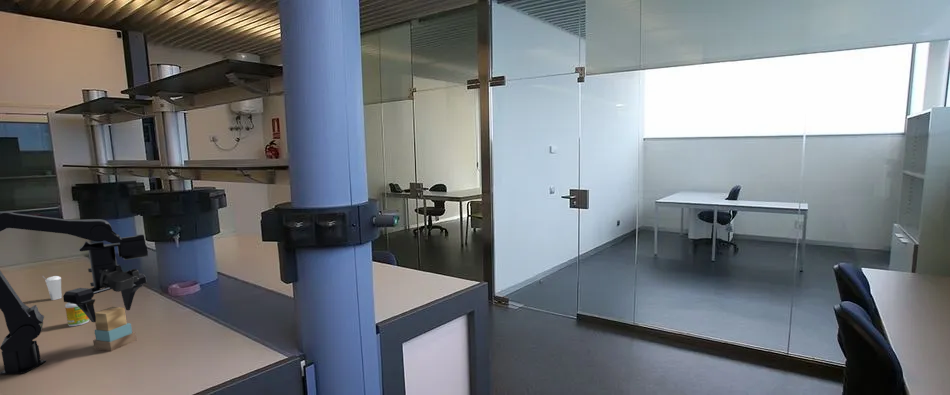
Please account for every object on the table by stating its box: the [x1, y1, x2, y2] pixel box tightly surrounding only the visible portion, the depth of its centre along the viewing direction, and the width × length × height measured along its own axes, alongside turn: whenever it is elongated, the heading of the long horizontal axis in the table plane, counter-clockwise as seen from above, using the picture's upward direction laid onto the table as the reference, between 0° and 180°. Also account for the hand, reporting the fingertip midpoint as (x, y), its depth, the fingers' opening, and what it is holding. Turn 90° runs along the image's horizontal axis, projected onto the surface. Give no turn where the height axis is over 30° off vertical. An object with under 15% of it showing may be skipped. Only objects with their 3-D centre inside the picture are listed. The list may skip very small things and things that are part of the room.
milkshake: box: [42, 275, 63, 301], centre depth 178 cm, size 4×5×10 cm
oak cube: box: [94, 306, 128, 331], centre depth 129 cm, size 5×5×5 cm
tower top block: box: [94, 322, 133, 342], centre depth 130 cm, size 6×6×3 cm
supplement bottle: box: [64, 302, 90, 327], centre depth 149 cm, size 5×5×10 cm
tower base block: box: [92, 331, 137, 352], centre depth 131 cm, size 7×7×3 cm
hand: (111, 315), depth 129 cm, fingers open, 9 cm apart
